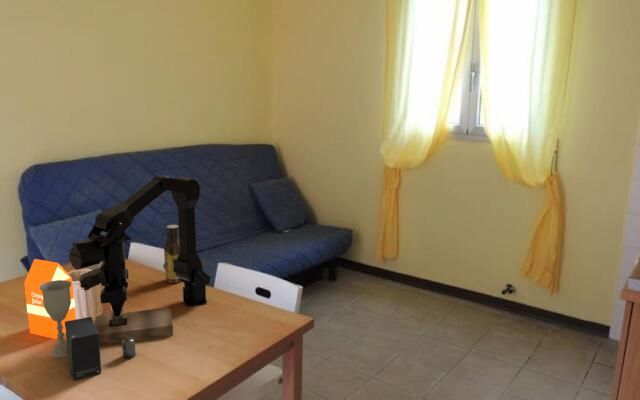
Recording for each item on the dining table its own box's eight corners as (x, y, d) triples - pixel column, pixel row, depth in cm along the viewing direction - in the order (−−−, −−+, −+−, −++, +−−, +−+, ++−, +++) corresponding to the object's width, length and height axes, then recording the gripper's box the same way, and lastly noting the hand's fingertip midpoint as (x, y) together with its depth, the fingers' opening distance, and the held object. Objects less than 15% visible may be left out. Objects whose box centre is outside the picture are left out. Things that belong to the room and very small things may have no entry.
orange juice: (52, 321, 143) (46, 254, 139) (77, 326, 140) (70, 258, 136) (29, 333, 136) (21, 263, 132) (54, 339, 133) (46, 267, 129)
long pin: (124, 319, 139) (121, 288, 137) (123, 324, 136) (121, 292, 134) (112, 320, 138) (110, 289, 136) (111, 325, 135) (109, 294, 133)
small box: (103, 373, 118) (100, 332, 115) (72, 381, 114) (68, 339, 112) (95, 353, 126) (92, 315, 124) (66, 360, 123) (62, 321, 121)
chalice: (84, 348, 129) (78, 282, 125) (62, 361, 122) (55, 292, 118) (61, 343, 131) (55, 278, 127) (39, 356, 125) (32, 288, 121)
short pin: (135, 352, 127) (134, 336, 126) (135, 358, 124) (134, 341, 124) (123, 354, 126) (121, 337, 125) (122, 360, 123) (121, 343, 123)
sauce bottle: (167, 277, 178) (165, 223, 174) (185, 277, 179) (183, 223, 174) (163, 284, 172) (160, 228, 167) (182, 284, 172) (180, 228, 168)
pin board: (170, 316, 147) (170, 307, 147) (173, 335, 136) (172, 325, 136) (96, 325, 141) (95, 316, 140) (92, 346, 130) (92, 335, 129)
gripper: (83, 251, 139) (88, 303, 142) (75, 274, 122) (81, 333, 125) (126, 247, 142) (130, 299, 146) (124, 269, 125) (128, 327, 129)
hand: (117, 313), depth 136 cm, fingers closed on long pin, 3 cm apart
